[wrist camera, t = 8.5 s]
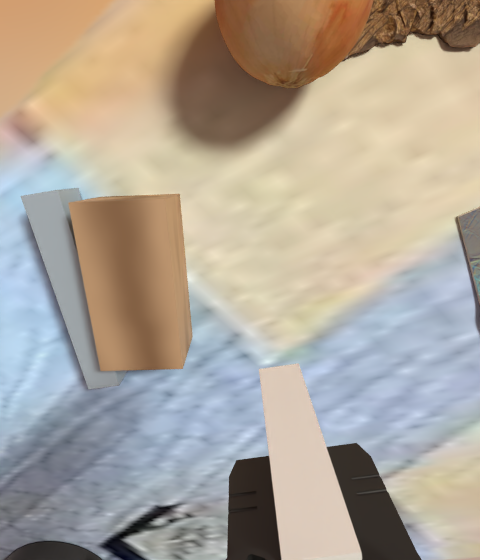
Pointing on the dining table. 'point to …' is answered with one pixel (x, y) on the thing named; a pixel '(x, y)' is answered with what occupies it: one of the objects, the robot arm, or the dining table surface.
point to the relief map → (472, 243)
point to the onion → (291, 36)
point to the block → (135, 279)
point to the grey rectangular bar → (67, 277)
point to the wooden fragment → (421, 22)
